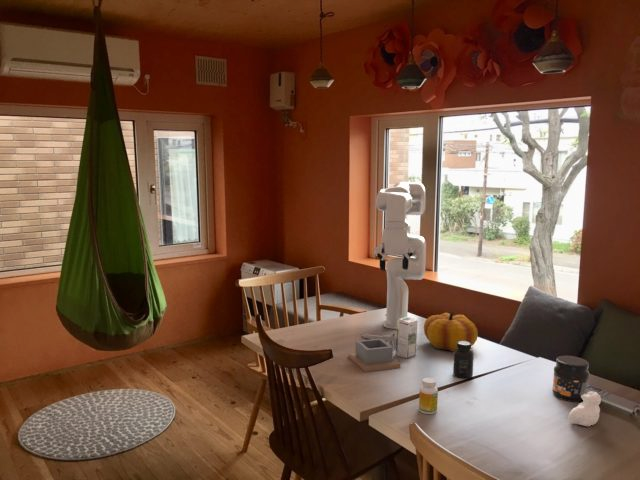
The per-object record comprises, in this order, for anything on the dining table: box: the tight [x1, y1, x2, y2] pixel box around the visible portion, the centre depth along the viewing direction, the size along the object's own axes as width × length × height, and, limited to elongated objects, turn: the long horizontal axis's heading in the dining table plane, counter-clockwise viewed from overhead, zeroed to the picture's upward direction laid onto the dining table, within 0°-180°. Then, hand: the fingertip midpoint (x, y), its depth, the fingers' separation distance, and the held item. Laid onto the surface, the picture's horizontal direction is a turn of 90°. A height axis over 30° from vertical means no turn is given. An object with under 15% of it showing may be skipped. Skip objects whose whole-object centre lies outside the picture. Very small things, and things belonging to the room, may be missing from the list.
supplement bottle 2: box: [452, 341, 475, 380], centre depth 195 cm, size 7×7×12 cm
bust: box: [567, 390, 602, 427], centre depth 160 cm, size 12×8×11 cm
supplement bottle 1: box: [418, 377, 439, 415], centre depth 167 cm, size 5×5×10 cm
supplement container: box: [552, 355, 590, 402], centre depth 179 cm, size 10×10×12 cm
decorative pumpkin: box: [423, 311, 479, 352], centre depth 225 cm, size 20×22×15 cm
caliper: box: [360, 333, 396, 350], centre depth 229 cm, size 20×1×6 cm, turn 38°
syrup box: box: [395, 316, 419, 359], centre depth 214 cm, size 6×6×14 cm
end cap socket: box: [348, 339, 401, 373], centre depth 207 cm, size 16×14×7 cm
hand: (393, 269), depth 214 cm, fingers open, 9 cm apart
